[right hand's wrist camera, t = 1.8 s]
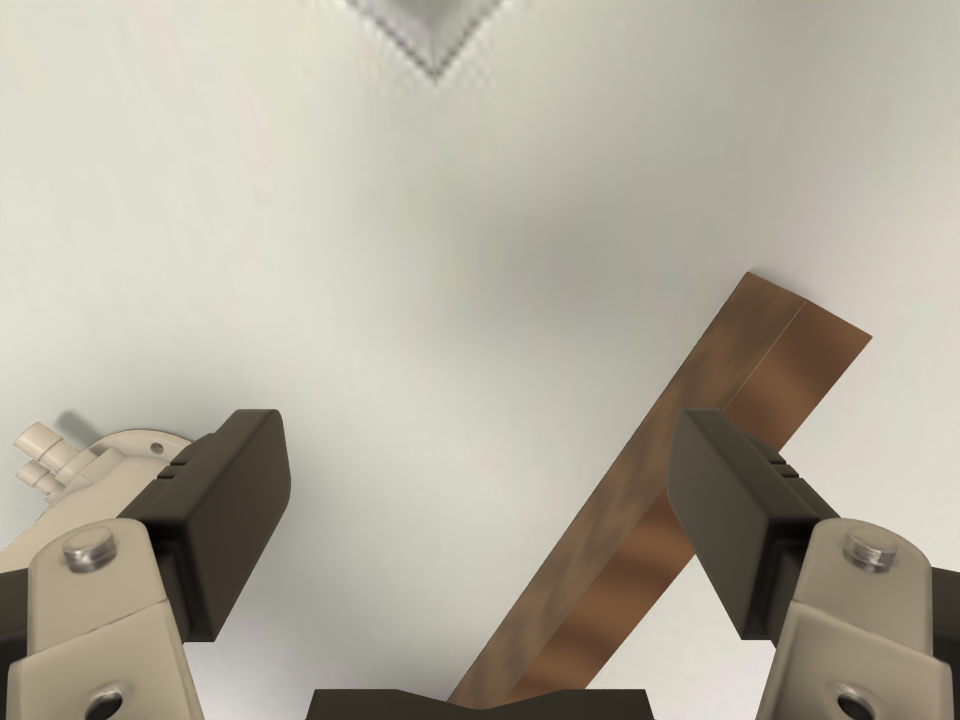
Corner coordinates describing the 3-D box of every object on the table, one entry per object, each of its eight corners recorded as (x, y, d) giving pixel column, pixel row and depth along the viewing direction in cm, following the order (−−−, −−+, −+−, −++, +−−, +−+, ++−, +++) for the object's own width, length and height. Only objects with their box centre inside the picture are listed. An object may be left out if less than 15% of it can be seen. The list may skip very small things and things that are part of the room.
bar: (747, 271, 35) (806, 298, 28) (803, 303, 35) (873, 337, 29) (409, 753, 51) (399, 839, 45) (453, 768, 52) (449, 854, 46)
